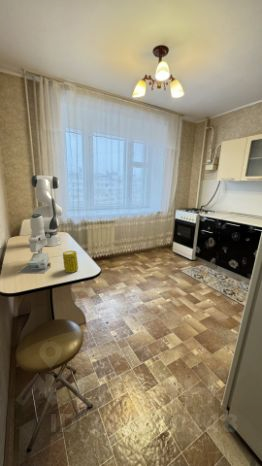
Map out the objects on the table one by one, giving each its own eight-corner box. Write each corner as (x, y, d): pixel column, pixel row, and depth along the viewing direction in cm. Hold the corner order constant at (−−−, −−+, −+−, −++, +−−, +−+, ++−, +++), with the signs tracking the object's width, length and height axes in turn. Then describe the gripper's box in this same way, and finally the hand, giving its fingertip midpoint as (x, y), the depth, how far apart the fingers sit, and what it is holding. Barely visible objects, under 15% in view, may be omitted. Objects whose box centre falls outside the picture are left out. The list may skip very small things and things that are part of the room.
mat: (27, 265, 146) (27, 265, 146) (51, 266, 146) (51, 265, 145) (18, 272, 134) (18, 272, 134) (44, 273, 134) (44, 273, 134)
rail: (30, 264, 148) (29, 262, 147) (50, 265, 147) (50, 262, 147) (28, 265, 146) (28, 263, 145) (49, 266, 146) (49, 263, 145)
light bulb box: (35, 259, 147) (30, 269, 138) (33, 253, 144) (28, 262, 135) (49, 259, 149) (46, 269, 140) (48, 252, 145) (44, 262, 136)
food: (69, 276, 134) (63, 272, 141) (84, 268, 141) (77, 264, 148) (63, 257, 128) (56, 254, 135) (78, 249, 135) (71, 247, 142)
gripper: (40, 232, 153) (42, 249, 157) (27, 240, 133) (29, 258, 137) (48, 232, 153) (50, 249, 157) (36, 240, 133) (38, 259, 137)
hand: (40, 253), depth 147 cm, fingers closed
